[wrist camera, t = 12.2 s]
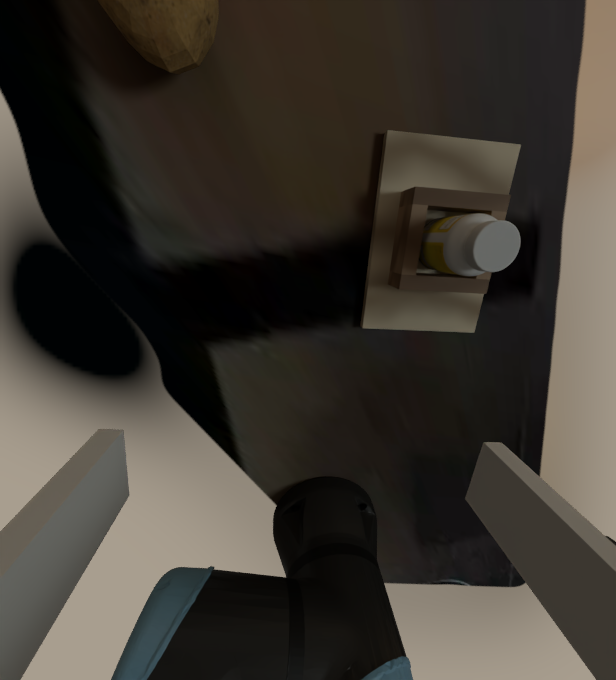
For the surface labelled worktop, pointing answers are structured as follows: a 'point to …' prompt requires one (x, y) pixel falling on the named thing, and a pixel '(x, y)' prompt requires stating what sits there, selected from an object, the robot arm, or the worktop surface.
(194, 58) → the potato
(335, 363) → the worktop surface
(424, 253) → the supplement bottle
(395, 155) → the collar board
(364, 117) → the worktop surface
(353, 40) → the worktop surface
